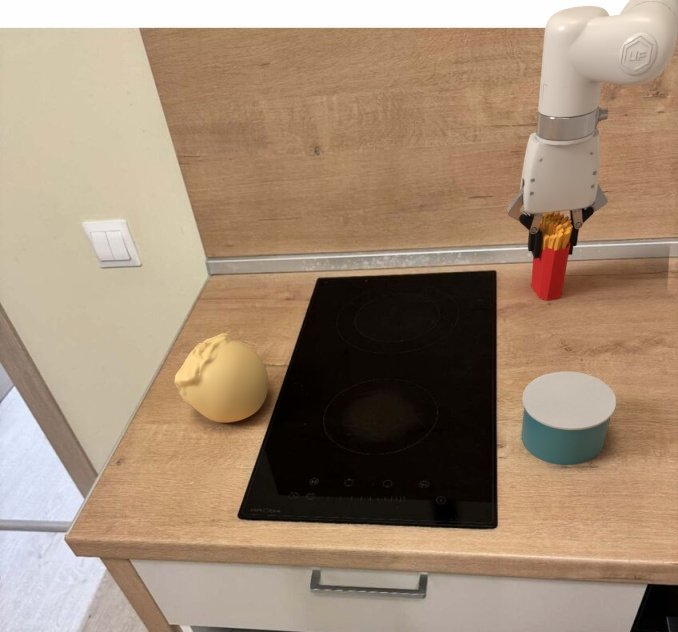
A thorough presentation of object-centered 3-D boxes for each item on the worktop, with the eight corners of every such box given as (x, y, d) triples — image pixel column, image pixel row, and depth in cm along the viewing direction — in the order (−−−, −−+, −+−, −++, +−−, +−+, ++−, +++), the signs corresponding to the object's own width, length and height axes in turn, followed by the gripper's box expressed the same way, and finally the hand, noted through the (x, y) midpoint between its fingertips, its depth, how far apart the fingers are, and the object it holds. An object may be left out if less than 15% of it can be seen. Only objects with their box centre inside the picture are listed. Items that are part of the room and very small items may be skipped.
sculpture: (217, 378, 96) (196, 318, 89) (286, 387, 92) (270, 325, 85) (180, 426, 89) (153, 365, 82) (252, 438, 85) (231, 376, 78)
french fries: (526, 280, 103) (533, 208, 95) (550, 275, 103) (558, 204, 95) (543, 306, 97) (552, 232, 89) (568, 301, 97) (579, 227, 89)
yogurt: (593, 415, 79) (603, 367, 74) (614, 472, 72) (627, 424, 67) (512, 421, 80) (516, 375, 75) (525, 478, 73) (530, 431, 68)
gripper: (624, 105, 84) (601, 235, 97) (497, 123, 86) (492, 247, 99) (640, 124, 79) (614, 258, 92) (505, 141, 81) (499, 270, 94)
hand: (551, 251), depth 95 cm, fingers closed on french fries, 4 cm apart
